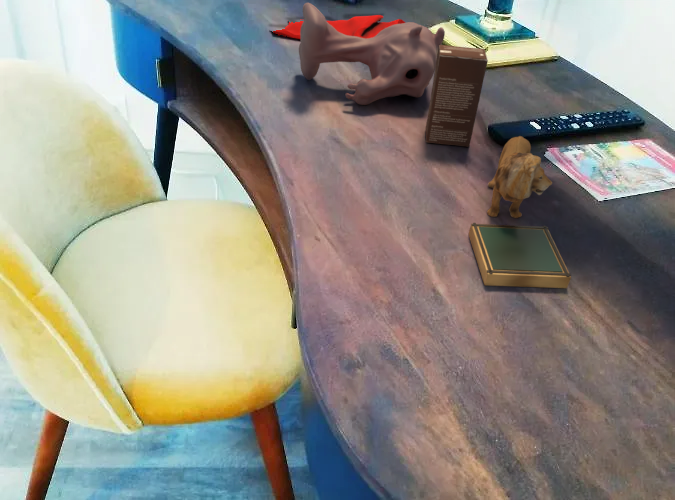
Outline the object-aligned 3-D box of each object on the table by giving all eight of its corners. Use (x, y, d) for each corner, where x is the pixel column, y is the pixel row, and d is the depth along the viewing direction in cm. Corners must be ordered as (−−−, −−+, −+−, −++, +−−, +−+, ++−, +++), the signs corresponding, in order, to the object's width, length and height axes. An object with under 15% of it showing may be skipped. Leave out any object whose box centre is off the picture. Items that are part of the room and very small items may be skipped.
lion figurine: (537, 240, 70) (560, 168, 65) (488, 234, 71) (507, 162, 65) (520, 170, 82) (539, 105, 76) (478, 166, 82) (494, 100, 77)
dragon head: (315, 78, 84) (461, 65, 87) (299, -8, 87) (440, -18, 90) (307, 128, 97) (434, 115, 100) (294, 50, 100) (417, 40, 103)
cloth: (273, 47, 108) (273, 34, 107) (266, 19, 119) (266, 6, 117) (422, 48, 113) (424, 35, 112) (402, 21, 124) (404, 9, 122)
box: (467, 132, 89) (486, 47, 82) (469, 148, 86) (489, 61, 78) (423, 128, 89) (438, 42, 82) (424, 143, 86) (439, 55, 78)
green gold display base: (543, 237, 71) (547, 225, 70) (567, 288, 64) (571, 276, 63) (468, 234, 70) (471, 222, 69) (484, 285, 64) (487, 273, 63)
